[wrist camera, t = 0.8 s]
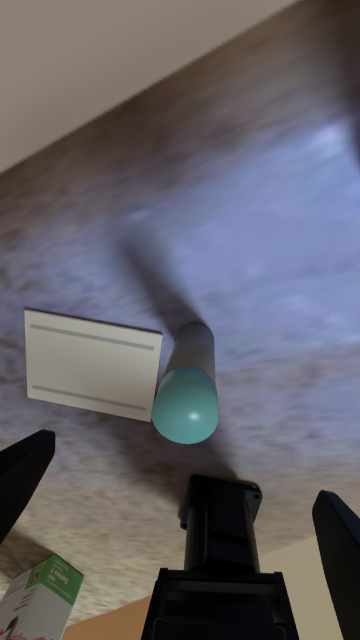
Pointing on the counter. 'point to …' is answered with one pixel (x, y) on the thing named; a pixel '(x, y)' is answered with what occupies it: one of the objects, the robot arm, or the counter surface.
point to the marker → (188, 388)
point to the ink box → (40, 601)
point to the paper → (91, 364)
